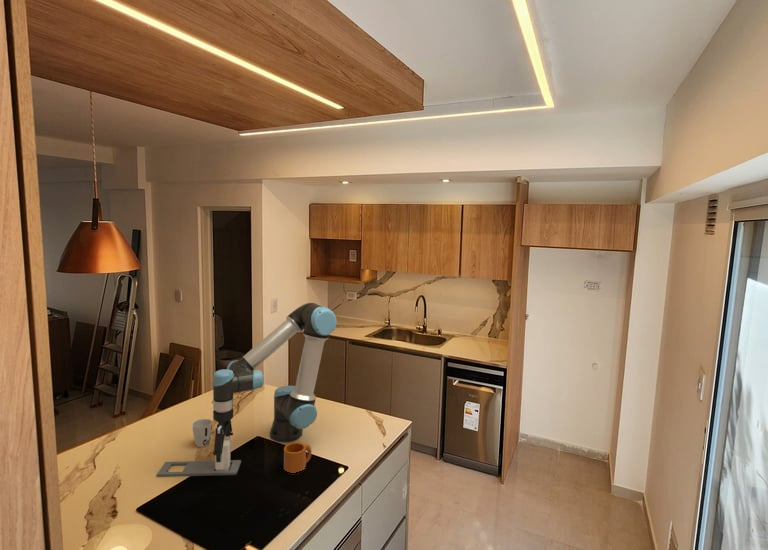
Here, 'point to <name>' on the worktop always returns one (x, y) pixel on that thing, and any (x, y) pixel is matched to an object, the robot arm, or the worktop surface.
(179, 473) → the socket strip
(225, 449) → the plug
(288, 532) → the worktop surface
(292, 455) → the mug
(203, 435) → the cup
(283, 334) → the robot arm
